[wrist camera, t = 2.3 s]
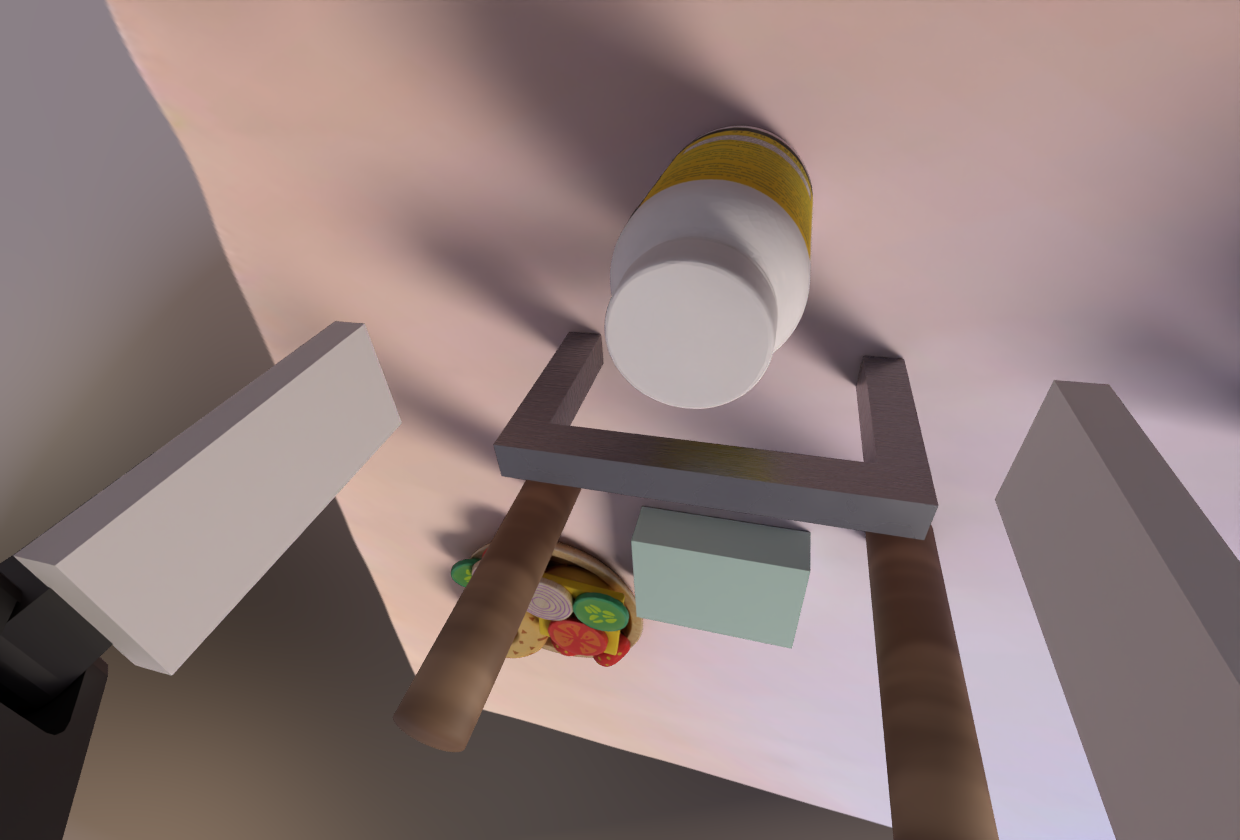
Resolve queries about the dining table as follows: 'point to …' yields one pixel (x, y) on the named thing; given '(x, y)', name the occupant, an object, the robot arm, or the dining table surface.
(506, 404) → the dining table surface
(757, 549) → the stand
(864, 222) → the dining table surface
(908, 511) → the rail hurdle
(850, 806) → the dining table surface
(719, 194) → the supplement bottle
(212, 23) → the dining table surface
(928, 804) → the post near
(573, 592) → the toy food set
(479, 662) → the post far
